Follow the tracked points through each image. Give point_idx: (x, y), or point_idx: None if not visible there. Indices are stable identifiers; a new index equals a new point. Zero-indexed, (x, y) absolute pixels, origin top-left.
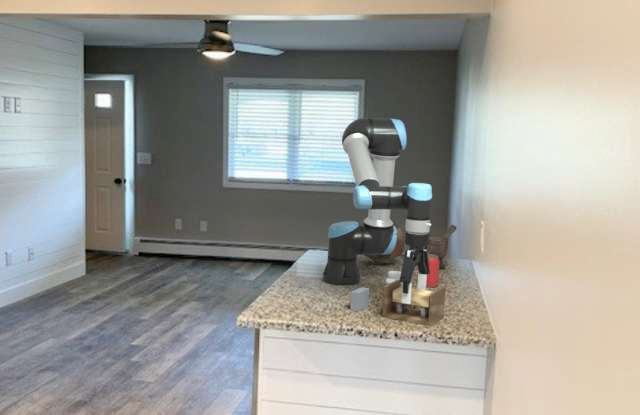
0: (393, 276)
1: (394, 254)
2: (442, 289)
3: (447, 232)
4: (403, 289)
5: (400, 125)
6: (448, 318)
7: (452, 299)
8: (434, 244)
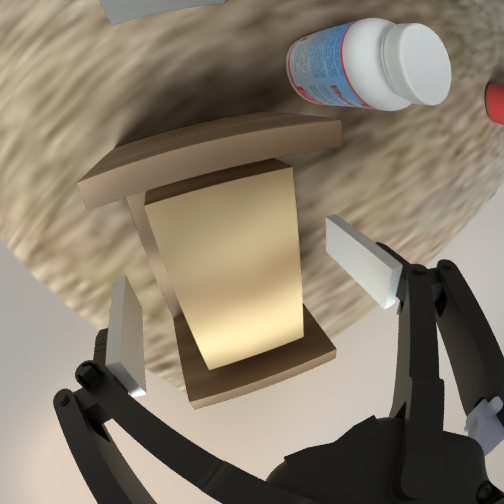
0: (387, 66)
1: None
2: (300, 371)
3: None
4: (97, 349)
5: None
6: None
7: (442, 195)
8: None
